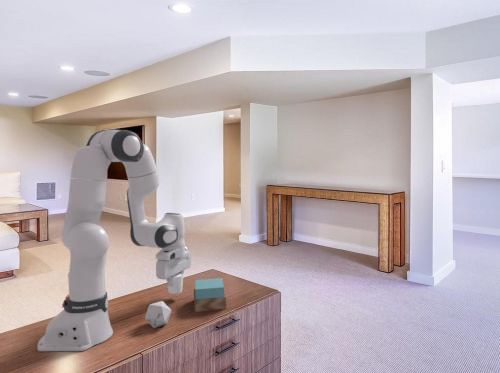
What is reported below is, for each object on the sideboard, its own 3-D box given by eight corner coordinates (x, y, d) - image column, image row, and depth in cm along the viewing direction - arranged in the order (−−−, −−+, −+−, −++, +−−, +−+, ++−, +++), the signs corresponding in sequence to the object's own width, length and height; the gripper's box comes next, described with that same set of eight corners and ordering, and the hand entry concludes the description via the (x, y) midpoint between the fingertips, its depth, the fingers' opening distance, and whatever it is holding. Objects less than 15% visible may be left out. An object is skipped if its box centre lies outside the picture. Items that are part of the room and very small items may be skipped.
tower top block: (195, 299, 139) (195, 289, 139) (195, 289, 150) (195, 280, 150) (224, 297, 141) (224, 287, 140) (222, 287, 152) (221, 278, 151)
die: (140, 329, 127) (146, 313, 122) (146, 309, 134) (153, 293, 129) (163, 335, 128) (170, 319, 123) (168, 314, 136) (175, 299, 130)
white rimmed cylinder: (171, 295, 147) (171, 278, 147) (164, 291, 152) (163, 274, 152) (186, 291, 151) (186, 275, 151) (178, 287, 157) (178, 271, 156)
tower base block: (195, 312, 139) (194, 300, 139) (194, 300, 151) (193, 289, 150) (226, 309, 141) (225, 297, 141) (222, 298, 153) (222, 286, 153)
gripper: (182, 245, 162) (182, 275, 162) (152, 256, 143) (153, 290, 144) (194, 246, 159) (194, 277, 160) (165, 257, 140) (166, 292, 141)
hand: (175, 283), depth 152 cm, fingers closed on white rimmed cylinder, 5 cm apart
